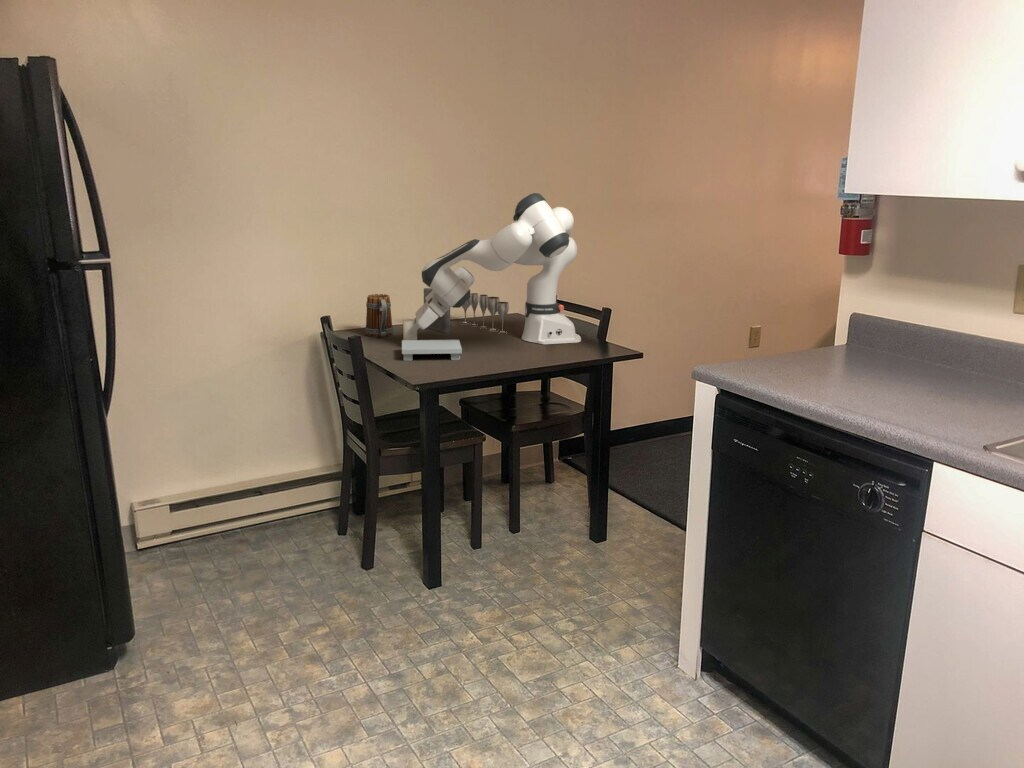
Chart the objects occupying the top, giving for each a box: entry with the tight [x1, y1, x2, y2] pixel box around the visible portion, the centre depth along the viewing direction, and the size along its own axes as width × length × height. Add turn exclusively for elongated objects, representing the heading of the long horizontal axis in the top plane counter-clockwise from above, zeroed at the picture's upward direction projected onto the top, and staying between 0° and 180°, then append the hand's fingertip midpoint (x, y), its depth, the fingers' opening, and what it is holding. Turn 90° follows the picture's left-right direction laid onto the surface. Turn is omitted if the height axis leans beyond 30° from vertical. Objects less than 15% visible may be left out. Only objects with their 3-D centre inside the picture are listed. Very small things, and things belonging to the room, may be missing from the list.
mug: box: [364, 293, 394, 338], centre depth 304 cm, size 16×11×15 cm
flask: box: [423, 287, 451, 334], centre depth 316 cm, size 4×14×18 cm, turn 46°
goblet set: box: [461, 292, 510, 332], centre depth 323 cm, size 28×6×13 cm, turn 43°
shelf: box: [401, 339, 463, 362], centre depth 277 cm, size 20×14×4 cm
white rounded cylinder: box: [402, 318, 418, 340], centre depth 291 cm, size 5×5×9 cm
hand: (409, 330), depth 291 cm, fingers closed on white rounded cylinder, 5 cm apart
